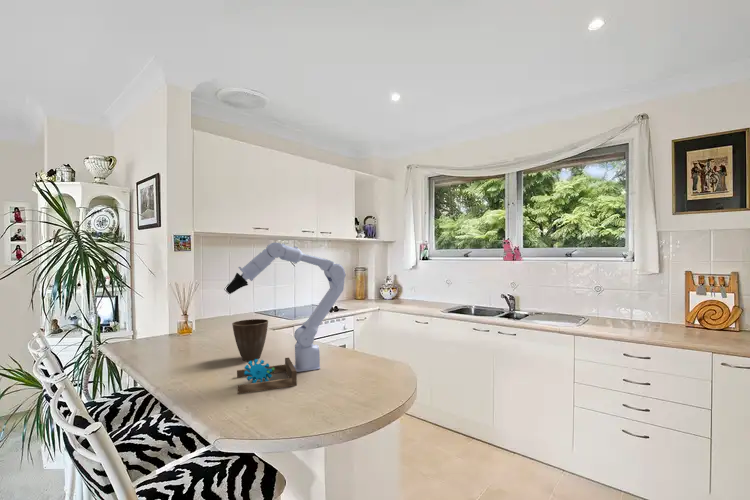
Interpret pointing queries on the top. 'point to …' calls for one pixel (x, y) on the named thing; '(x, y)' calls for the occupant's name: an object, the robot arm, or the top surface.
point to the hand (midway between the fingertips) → (227, 291)
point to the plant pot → (250, 337)
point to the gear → (258, 371)
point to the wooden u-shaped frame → (272, 384)
